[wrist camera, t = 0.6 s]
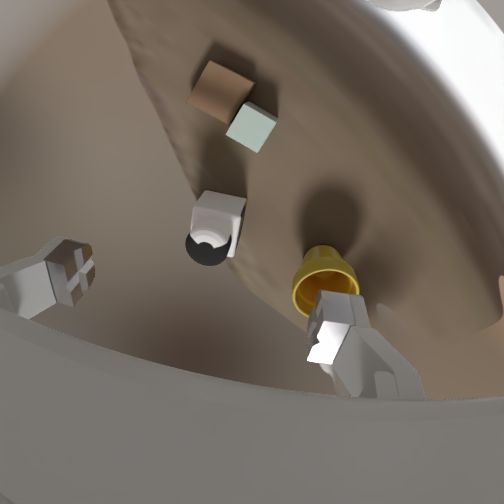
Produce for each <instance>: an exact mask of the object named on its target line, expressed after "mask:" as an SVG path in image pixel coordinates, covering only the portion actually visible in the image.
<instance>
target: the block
mask: <svg viewBox="0 0 504 504" xmlns="http://www.w3.org/2000/svg"><path fill="white" fill-rule="evenodd" d="M255 84H256V83H255V82H254V81H252V80H250V79H248V78H246V77H244V76H242V75H241V74H239V73H237V72H235V71H233V70H231V69H229V68H227V67H225V66H223V65H221V64H219V63H217V62H215V61H210V60H209V62H208V64H207V66H206V67H205V69H204V71H203V73H202V74H201V76H200V78H199V80H198V82H197V83H196V85H195V87H194V89H193V91H192V93H191V94H190V96H189V98H188V100H187V102H186V103H188V104H190V105H192V106H194V107H196V108H198V109H200V110H202V111H204V112H206V113H208V114H210V115H211V116H213V117H215V118H217V119H219V120H221V121H222V122H224V123H226V124H228V125H229V124H230V123H232V122H233V120H234V118H235V117H236V115H237V113H238V112H239V110H240V108H241V107H242V105H243V103H244V102H245V100H246V98H247V97H248V95H249V93H250V92H251V90H252V89H253V87H254V85H255Z"/></svg>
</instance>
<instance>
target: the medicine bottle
mask: <svg viewBox="0 0 504 504" xmlns="http://www.w3.org/2000/svg"><path fill="white" fill-rule="evenodd" d="M246 204H247V199H246V198H241V197H237V196H232V195H227V194H222V193H217V192H213V191H208V190H205V191H204V192H203V194H202V195H201V197H200V198H199V199H198V201H197V202H196V203H195V205H194V206H193V212H192V220H191V230H190V233H189V234H188V236H187V238H186V250H187V252H188V254H189V256H190V257H191V258H192V259H193V260H194V261H196V262H197V263H199V264H202V265H206V266H214V265H218V264H220V263H221V262H223V261H224V260H225V259H226V257H227V256H229V257H233V256H234V254H235V251H236V248H237V245H238V241H239V238H240V235H241V230H242V225H243V220H244V214H245V209H246Z"/></svg>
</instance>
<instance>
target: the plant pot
mask: <svg viewBox="0 0 504 504" xmlns="http://www.w3.org/2000/svg"><path fill="white" fill-rule="evenodd" d="M319 289H320V290H326V291H332V292H338V293H345V294H355V295H359V293H360V290H359V284H358V280H357V277H356V274H355V272H354V270H353V268H352V267H351V266H350V265H349V264H348V263H346V262H345V261H344V260H343V259H342V257H341V256H340V254H339V253H338V251H337V250H336V249H334V248H333V247H330V246H327V245H319V246H315V247H313V248H311V249H310V250H309V251H308V252H307V253H306V254H305V256H304V259H303V262H302V265H301V267H300V268H299V270H298V271H297V272H296V274H295V276H294V279H293V284H292V299H293V303H294V305H295V307H296V308H297V309H298V311H299V312H301V313H302V314H303V315H305V316H307V317H309V316H310V313H311V309H312V308H314V307H315V298H316V295H317V292H318V291H319Z"/></svg>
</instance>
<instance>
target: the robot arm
mask: <svg viewBox="0 0 504 504" xmlns="http://www.w3.org/2000/svg"><path fill="white" fill-rule="evenodd" d="M365 1H367V2H368V3H370V4H372V5H374V6H377V7H379V8H382V9H386V10H391V11H408V10H412V9H422V10H426V11H436V10H437V9H438V8H439V7H440V4H441V1H442V0H365ZM91 256H92V248H91V246H90V245H89V244H88V243H84V242H80V241H76V240H72V239H67V238H64V237H59V236H58V237H54V238H53V239H52V240H51V241H50V242H49V243H48V244H46V245H45V246H44V247H43V248H42V249H41V250H40V251H39V252H38V253H36V255H34V256H33V257H27V258H24V259H21V260H18V261H16V262H13V263H10V264H8V265H5V266H2V267H0V504H504V396H497V397H487V398H470V399H443V400H426V398H425V394H424V391H423V387H422V383H421V379H420V376H419V373H418V372H417V371H416V370H415V369H414V368H413V367H412V366H411V365H410V364H409V363H408V362H407V361H406V360H405V359H404V358H403V357H402V355H401V354H400V353H399V352H398V351H397V350H396V349H395V348H394V347H393V346H392V345H391V344H390V343H389V342H388V341H387V340H386V339H385V338H384V337H383V336H382V335H381V334H380V333H379V332H378V331H377V330H376V329H373V328H371V326H370V322H369V318H368V314H367V310H366V306H365V302H364V298H363V296H362V295H355V294H345V293H338V292H332V291H326V290H320V289H319V291H318V292H317V295H316V298H315V307H314V308H312V309H311V313H310V316H309V320H308V326H307V336H308V337H309V338H310V339H309V342H308V345H307V356H308V357H307V360H309V361H315V362H321V363H328V364H332V367H333V368H334V370H335V371H336V373H337V374H338V376H339V377H340V379H341V380H342V382H343V384H344V385H345V387H346V388H347V390H348V391H349V393H350V394H351V396H352V397H348V396H336V395H326V394H316V393H308V392H299V391H292V390H285V389H278V388H271V387H264V386H258V385H253V384H247V383H241V382H236V381H230V380H226V379H221V378H216V377H211V376H206V375H202V374H198V373H193V372H189V371H185V370H181V369H177V368H172V367H169V366H165V365H161V364H157V363H153V362H150V361H146V360H143V359H139V358H135V357H132V356H129V355H125V354H122V353H119V352H116V351H113V350H109V349H106V348H103V347H100V346H97V345H94V344H91V343H88V342H85V341H83V340H80V339H77V338H74V337H71V336H69V335H66V334H63V333H61V332H58V331H55V330H53V329H50V328H48V327H45V326H42V325H40V324H38V323H35V322H33V321H30V320H28V319H30V318H31V317H33V316H35V315H36V314H38V313H40V312H41V311H43V310H44V309H46V308H48V307H50V306H51V305H53V304H55V303H56V302H59V303H63V304H66V305H69V306H73V307H74V306H75V305H76V304H77V302H78V301H79V300H80V299H81V297H82V296H83V294H82V291H83V290H85V289H88V288H89V287H90V286H91V284H92V282H93V280H94V277H95V267H94V263H93V262H92V260H91V259H90V258H91Z"/></svg>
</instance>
